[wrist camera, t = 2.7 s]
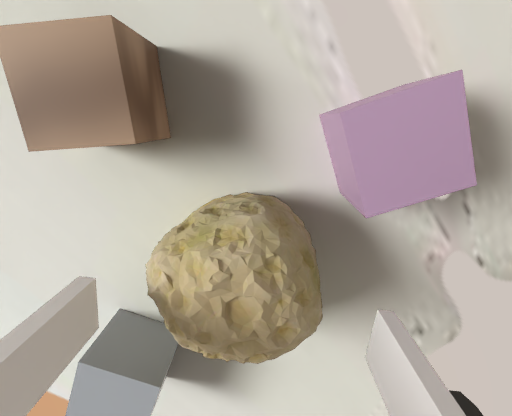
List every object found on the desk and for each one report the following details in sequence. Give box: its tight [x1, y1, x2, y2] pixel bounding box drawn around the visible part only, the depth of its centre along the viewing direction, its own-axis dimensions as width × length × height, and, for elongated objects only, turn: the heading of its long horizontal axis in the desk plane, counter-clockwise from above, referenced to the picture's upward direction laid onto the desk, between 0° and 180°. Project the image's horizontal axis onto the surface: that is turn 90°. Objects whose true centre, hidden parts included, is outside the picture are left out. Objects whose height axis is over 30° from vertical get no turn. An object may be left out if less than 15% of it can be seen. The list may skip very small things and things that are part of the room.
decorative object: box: [145, 192, 323, 364], centre depth 17 cm, size 9×10×10 cm
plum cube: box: [319, 70, 477, 218], centre depth 15 cm, size 5×5×5 cm
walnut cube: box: [0, 15, 171, 152], centre depth 14 cm, size 5×5×5 cm
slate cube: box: [66, 309, 178, 416], centre depth 20 cm, size 5×5×5 cm
